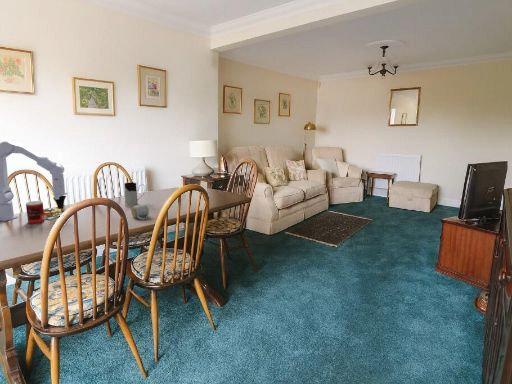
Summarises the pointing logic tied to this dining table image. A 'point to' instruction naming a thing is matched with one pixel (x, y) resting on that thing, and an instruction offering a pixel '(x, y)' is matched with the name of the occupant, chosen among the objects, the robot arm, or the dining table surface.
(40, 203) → the canned food
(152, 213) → the dining table surface
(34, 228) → the dining table surface
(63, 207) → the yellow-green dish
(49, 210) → the cap plate
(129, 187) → the glass holder
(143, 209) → the ceramic mug
